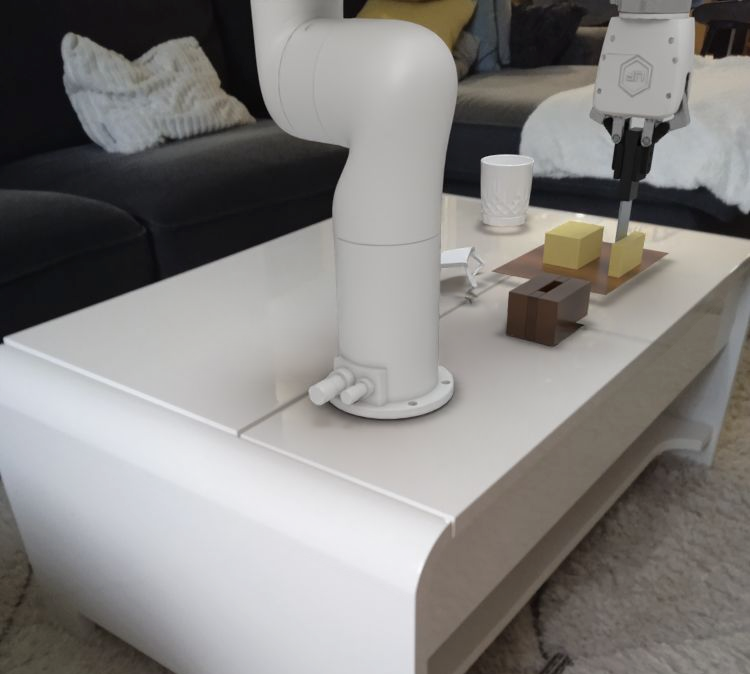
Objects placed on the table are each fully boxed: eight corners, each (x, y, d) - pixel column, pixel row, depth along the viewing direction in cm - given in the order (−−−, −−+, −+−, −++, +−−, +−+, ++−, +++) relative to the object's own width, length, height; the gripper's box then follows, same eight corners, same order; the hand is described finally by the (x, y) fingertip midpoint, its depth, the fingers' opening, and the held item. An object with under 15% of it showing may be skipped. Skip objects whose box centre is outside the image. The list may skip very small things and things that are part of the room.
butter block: (577, 270, 107) (580, 238, 105) (542, 263, 109) (545, 232, 107) (600, 256, 111) (604, 226, 109) (566, 250, 114) (569, 220, 112)
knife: (619, 259, 104) (638, 131, 96) (607, 257, 105) (625, 130, 97) (629, 253, 106) (648, 127, 98) (617, 251, 107) (635, 126, 99)
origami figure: (466, 314, 98) (467, 274, 95) (403, 304, 101) (403, 264, 98) (503, 284, 107) (505, 246, 104) (443, 275, 110) (444, 238, 107)
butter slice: (618, 277, 104) (623, 246, 102) (607, 275, 105) (611, 244, 102) (641, 263, 108) (645, 232, 106) (630, 261, 109) (634, 231, 107)
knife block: (553, 346, 89) (558, 302, 87) (505, 334, 92) (508, 291, 90) (586, 324, 94) (591, 281, 92) (539, 313, 98) (543, 271, 95)
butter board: (604, 304, 100) (605, 294, 99) (490, 280, 108) (491, 270, 107) (667, 261, 113) (669, 252, 112) (561, 242, 121) (562, 234, 120)
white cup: (527, 221, 131) (532, 154, 125) (530, 235, 124) (536, 165, 119) (477, 221, 132) (480, 154, 126) (477, 235, 125) (481, 165, 120)
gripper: (574, 3, 92) (556, 176, 102) (715, 5, 84) (681, 193, 94) (603, 0, 97) (583, 166, 107) (739, 2, 89) (704, 181, 99)
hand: (629, 177), depth 100 cm, fingers closed on knife, 1 cm apart
